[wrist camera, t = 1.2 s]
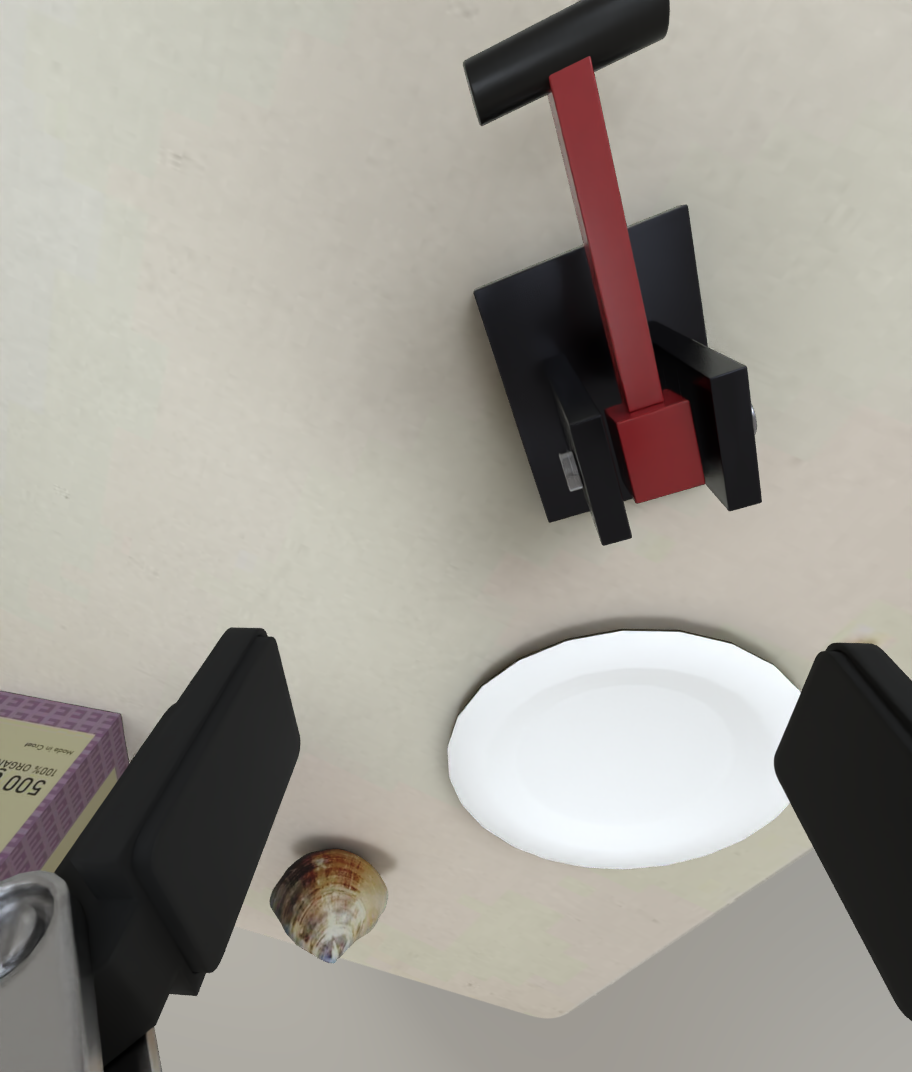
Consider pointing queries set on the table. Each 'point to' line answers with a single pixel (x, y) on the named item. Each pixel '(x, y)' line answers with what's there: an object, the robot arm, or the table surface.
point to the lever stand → (590, 382)
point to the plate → (625, 748)
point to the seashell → (329, 901)
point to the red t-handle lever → (600, 214)
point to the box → (52, 777)
